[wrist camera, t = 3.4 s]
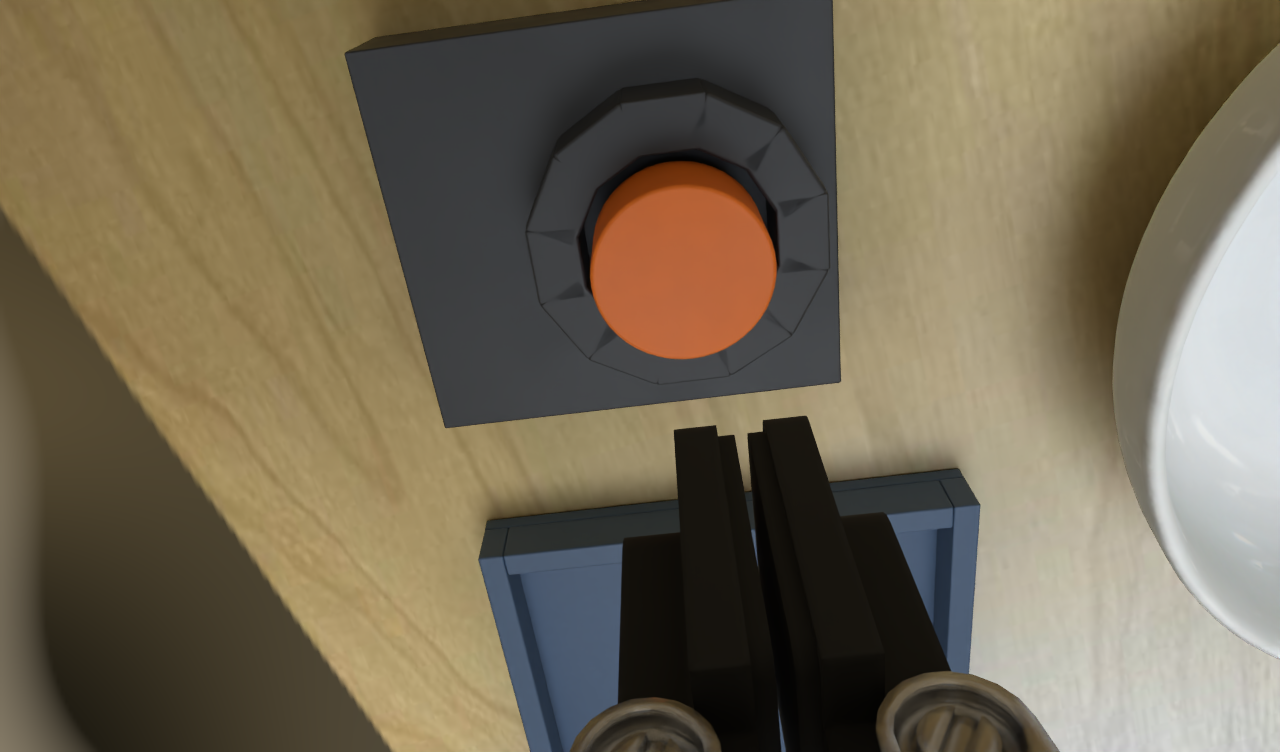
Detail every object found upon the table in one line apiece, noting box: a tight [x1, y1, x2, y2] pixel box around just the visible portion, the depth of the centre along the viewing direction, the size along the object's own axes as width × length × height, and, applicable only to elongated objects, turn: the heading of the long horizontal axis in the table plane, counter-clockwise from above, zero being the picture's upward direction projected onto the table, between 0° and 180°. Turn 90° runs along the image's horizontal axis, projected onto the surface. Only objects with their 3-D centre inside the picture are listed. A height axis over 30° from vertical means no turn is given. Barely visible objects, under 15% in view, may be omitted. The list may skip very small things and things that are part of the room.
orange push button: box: [590, 161, 777, 359], centre depth 20 cm, size 4×4×2 cm
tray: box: [478, 469, 980, 752], centre depth 32 cm, size 16×16×2 cm
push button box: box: [345, 0, 841, 428], centre depth 22 cm, size 11×10×4 cm
